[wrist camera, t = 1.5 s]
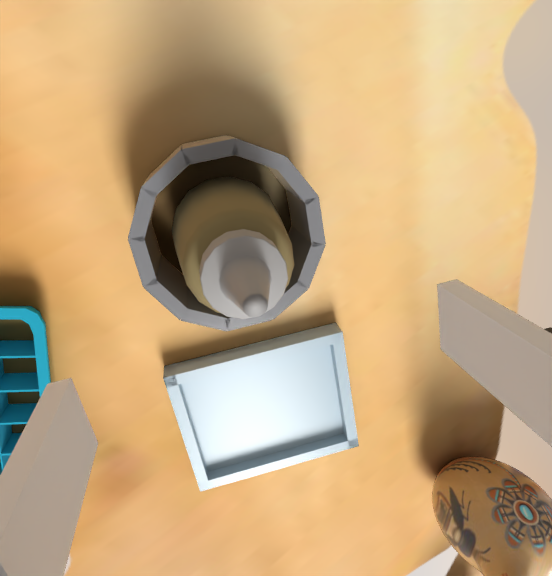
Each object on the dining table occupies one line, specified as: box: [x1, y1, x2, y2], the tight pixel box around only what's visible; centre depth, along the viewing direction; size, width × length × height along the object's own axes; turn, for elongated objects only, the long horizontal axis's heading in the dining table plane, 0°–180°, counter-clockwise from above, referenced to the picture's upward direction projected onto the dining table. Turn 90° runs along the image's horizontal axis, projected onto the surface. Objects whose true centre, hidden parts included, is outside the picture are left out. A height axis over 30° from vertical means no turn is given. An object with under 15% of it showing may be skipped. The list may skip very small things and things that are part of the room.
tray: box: [163, 323, 359, 491], centre depth 43 cm, size 16×13×2 cm
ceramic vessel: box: [432, 457, 552, 576], centre depth 40 cm, size 16×9×25 cm, turn 82°
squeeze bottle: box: [171, 176, 294, 319], centre depth 29 cm, size 8×8×18 cm
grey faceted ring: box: [128, 135, 326, 331], centre depth 34 cm, size 13×13×6 cm
